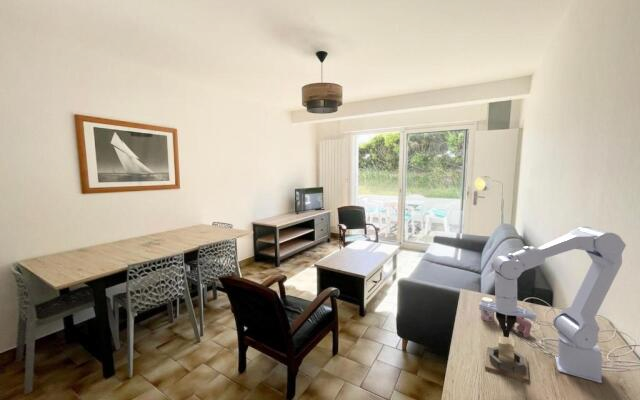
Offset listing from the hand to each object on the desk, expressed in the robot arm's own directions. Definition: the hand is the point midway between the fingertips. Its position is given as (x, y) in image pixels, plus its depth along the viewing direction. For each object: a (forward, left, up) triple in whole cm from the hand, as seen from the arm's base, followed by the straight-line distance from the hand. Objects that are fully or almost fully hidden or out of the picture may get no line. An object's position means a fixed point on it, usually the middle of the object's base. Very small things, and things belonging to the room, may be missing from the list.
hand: (506, 335), depth 86 cm
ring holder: (0, 0, -10) cm, 10 cm away
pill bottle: (+7, -28, -10) cm, 31 cm away
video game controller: (-2, -23, -10) cm, 26 cm away
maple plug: (0, 0, -9) cm, 9 cm away
